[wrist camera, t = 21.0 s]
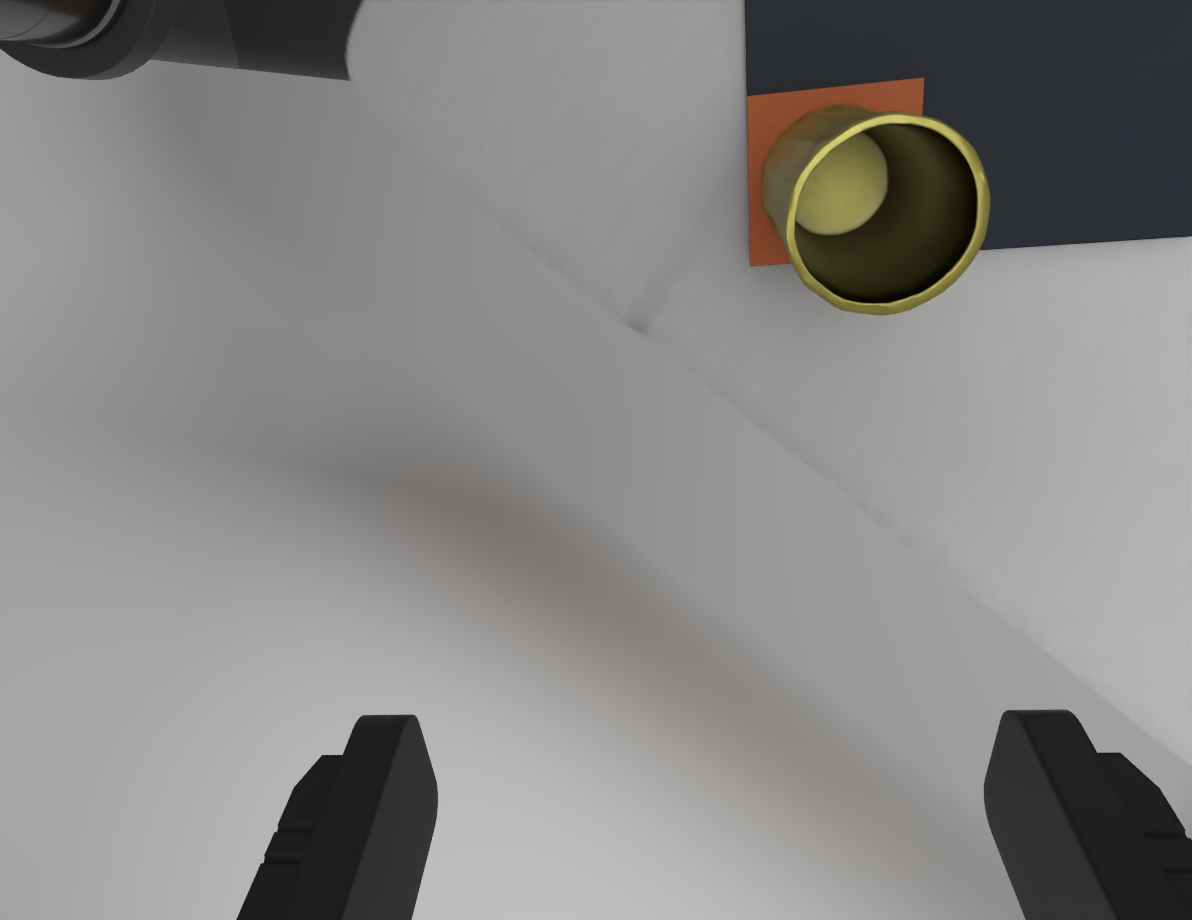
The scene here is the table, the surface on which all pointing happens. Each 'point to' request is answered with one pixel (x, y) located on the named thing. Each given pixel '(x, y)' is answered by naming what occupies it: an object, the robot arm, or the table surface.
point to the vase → (875, 205)
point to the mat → (998, 103)
